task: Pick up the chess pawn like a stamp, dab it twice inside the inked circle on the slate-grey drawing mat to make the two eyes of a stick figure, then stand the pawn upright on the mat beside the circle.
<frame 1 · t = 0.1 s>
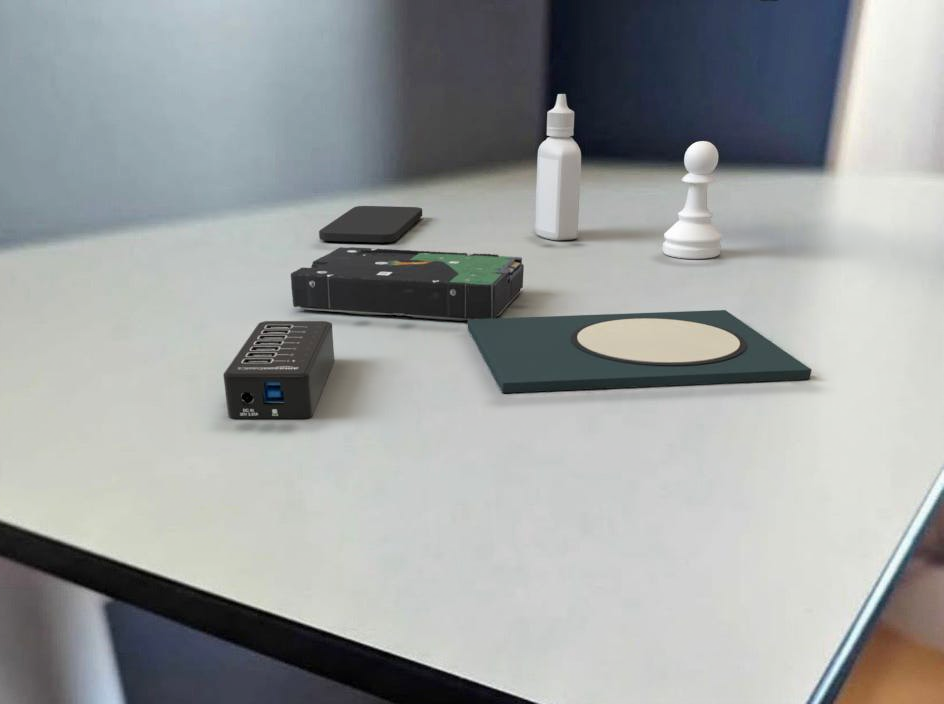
hand: (787, 0, 84), 19 cm above the table, tool pointing down, fingers open, 8 cm apart
multiport hub: (285, 389, 58), on the table
chess pawn: (690, 256, 90), on the table
eye dropper bottle: (555, 238, 98), on the table
drawing mat: (625, 351, 64), on the table
disk drive: (412, 304, 75), on the table
phone: (373, 229, 101), on the table
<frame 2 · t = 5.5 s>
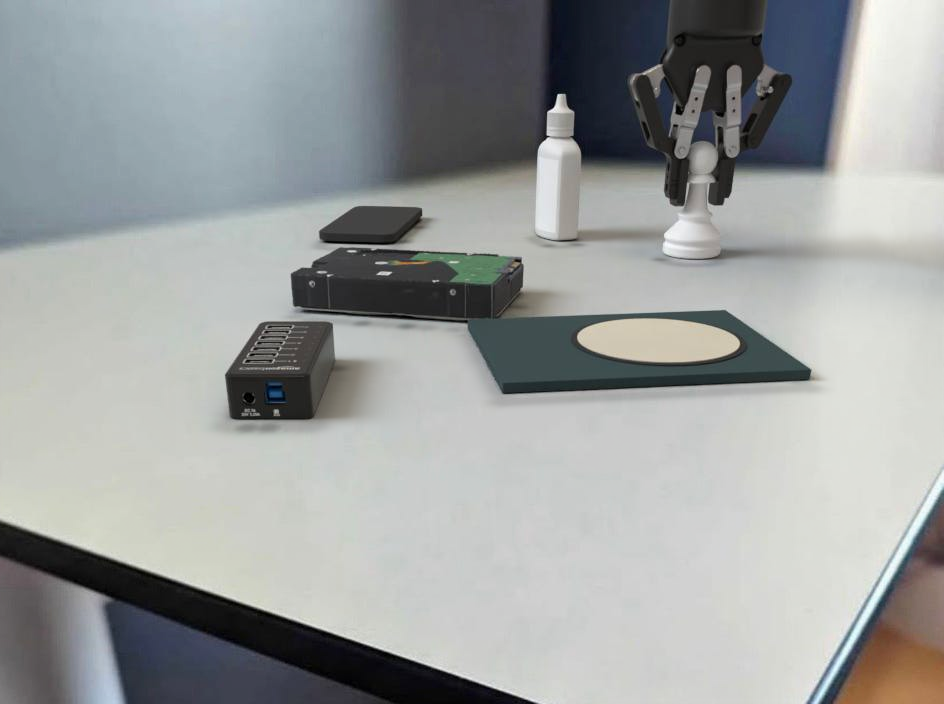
hand: (696, 203, 88), 4 cm above the table, tool pointing down, fingers closed on chess pawn, 3 cm apart
chess pawn: (690, 256, 90), on the table, touching gripper
everything else where it was.
when the fingers open (5 cm above the table, at t = 17.6 s): chess pawn stays where it is, resting on drawing mat.
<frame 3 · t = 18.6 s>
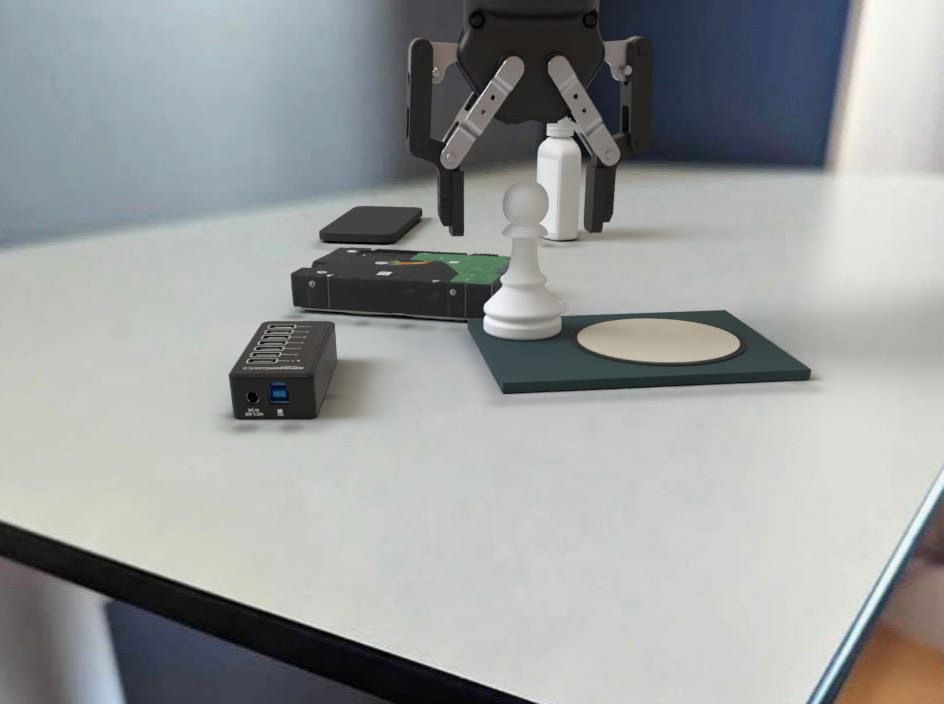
hand: (525, 232, 63), 7 cm above the table, tool pointing down, fingers open, 8 cm apart
chess pawn: (522, 334, 66), resting on drawing mat
everything else where it was.
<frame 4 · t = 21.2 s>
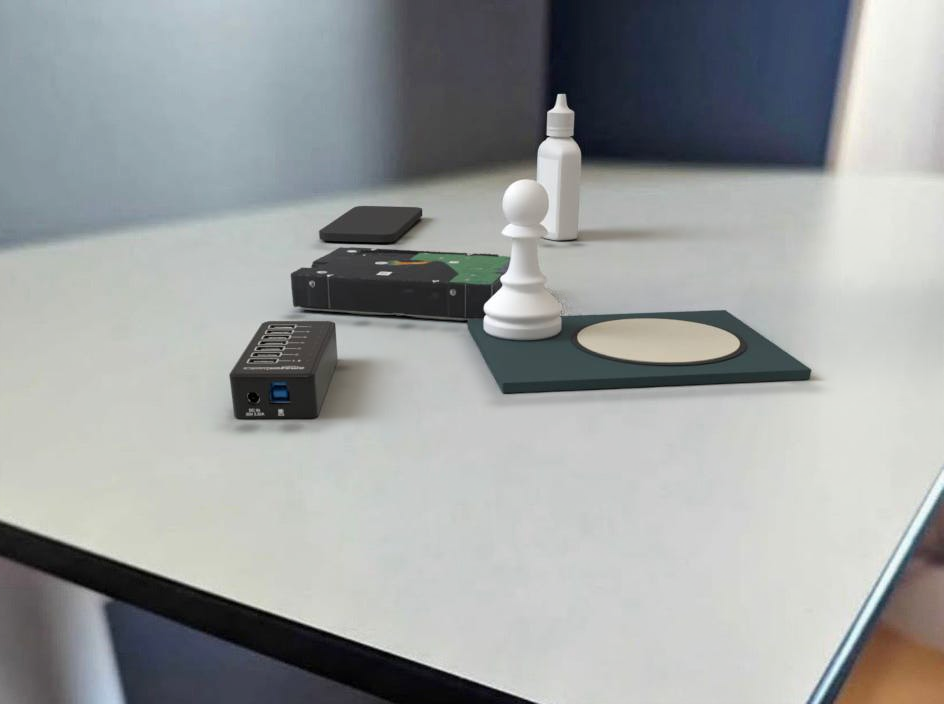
nothing on the table moved.
at the end: chess pawn 0.1 cm from the target spot on the drawing mat, point 0.4 cm above the drawing mat's base; chess pawn tilted 0°; the gripper is holding nothing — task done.
